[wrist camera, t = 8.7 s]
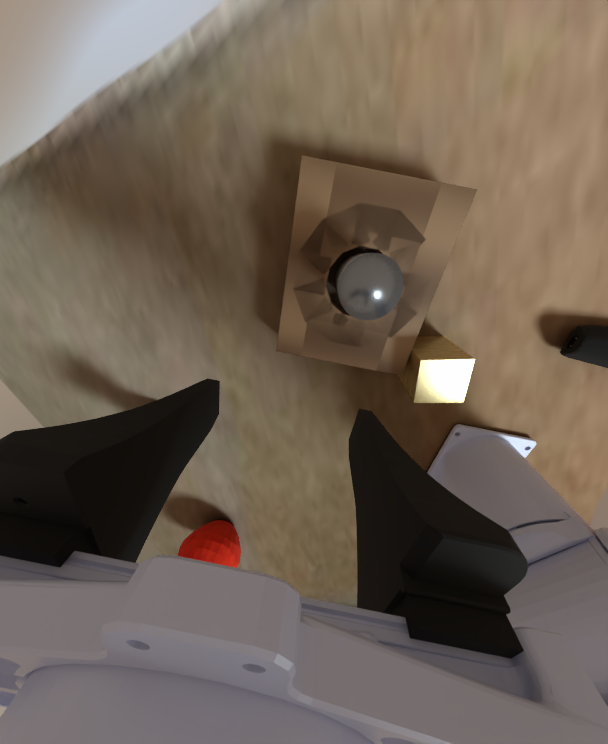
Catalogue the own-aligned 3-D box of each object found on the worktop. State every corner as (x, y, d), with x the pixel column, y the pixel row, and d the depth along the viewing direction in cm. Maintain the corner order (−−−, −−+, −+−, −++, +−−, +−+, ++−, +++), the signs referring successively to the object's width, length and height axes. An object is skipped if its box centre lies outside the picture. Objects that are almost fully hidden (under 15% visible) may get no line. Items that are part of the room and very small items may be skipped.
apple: (203, 499, 33) (172, 561, 26) (256, 520, 34) (239, 585, 27) (189, 528, 36) (158, 590, 30) (237, 547, 37) (218, 610, 31)
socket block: (392, 360, 22) (401, 375, 19) (282, 338, 22) (276, 350, 19) (452, 200, 16) (477, 189, 13) (306, 171, 16) (302, 155, 14)
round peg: (369, 303, 19) (388, 326, 13) (330, 293, 19) (330, 311, 13) (384, 259, 18) (414, 262, 11) (342, 248, 18) (349, 245, 11)
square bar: (435, 372, 22) (463, 402, 17) (396, 372, 22) (413, 402, 18) (442, 335, 20) (474, 359, 16) (400, 337, 21) (420, 360, 16)
